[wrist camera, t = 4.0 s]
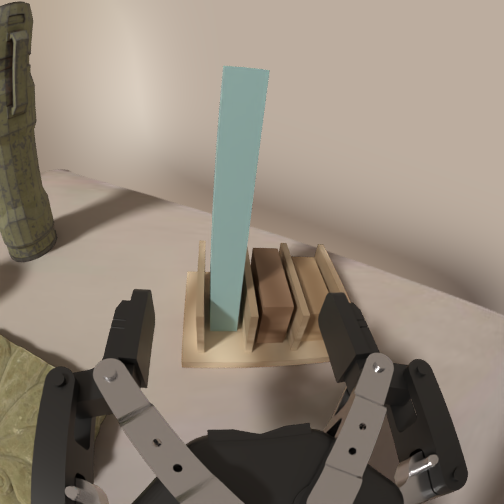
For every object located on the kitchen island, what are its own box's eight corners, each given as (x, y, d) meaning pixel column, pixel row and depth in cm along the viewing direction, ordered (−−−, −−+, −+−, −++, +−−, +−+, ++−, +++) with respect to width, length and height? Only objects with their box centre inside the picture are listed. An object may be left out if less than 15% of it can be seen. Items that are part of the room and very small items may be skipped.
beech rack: (319, 279, 36) (331, 239, 33) (349, 359, 27) (373, 320, 23) (187, 278, 34) (186, 234, 30) (182, 367, 24) (176, 326, 21)
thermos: (35, 272, 30) (3, -7, 10) (-4, 251, 32) (-35, 26, 11) (74, 236, 37) (61, -8, 17) (31, 222, 39) (13, 17, 18)
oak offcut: (305, 284, 33) (313, 257, 31) (324, 339, 27) (336, 312, 25) (284, 284, 33) (291, 256, 31) (300, 341, 27) (310, 313, 24)
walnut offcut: (270, 284, 33) (277, 248, 30) (282, 342, 27) (294, 306, 24) (247, 284, 32) (253, 247, 30) (256, 343, 26) (263, 307, 23)
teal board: (233, 294, 31) (258, 68, 18) (236, 331, 27) (269, 70, 14) (209, 293, 31) (223, 66, 18) (210, 330, 27) (225, 66, 14)
